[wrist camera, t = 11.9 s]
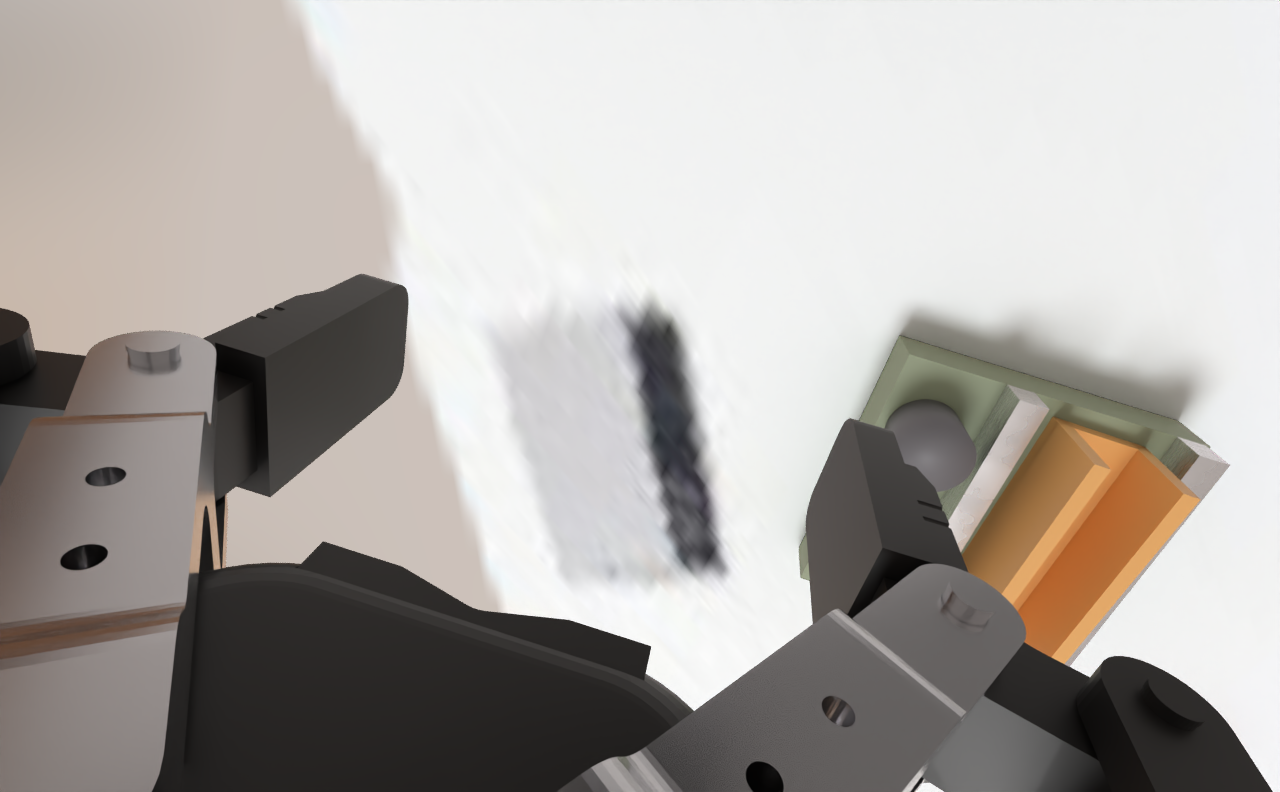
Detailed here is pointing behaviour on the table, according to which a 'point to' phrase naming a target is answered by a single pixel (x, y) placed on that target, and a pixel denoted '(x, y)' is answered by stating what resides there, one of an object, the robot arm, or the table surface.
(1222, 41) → the table surface
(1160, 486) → the discharge chute
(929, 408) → the marble run board
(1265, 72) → the table surface
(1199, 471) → the chute cradle
